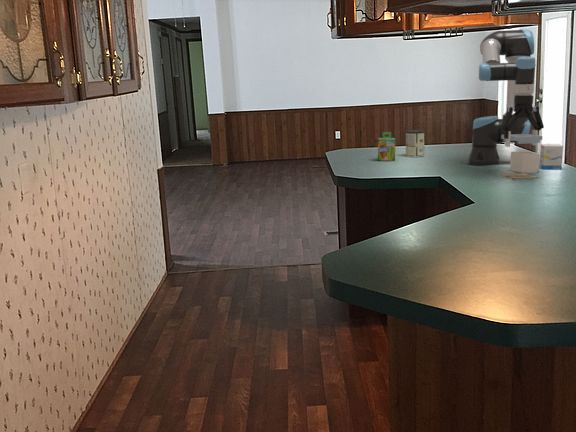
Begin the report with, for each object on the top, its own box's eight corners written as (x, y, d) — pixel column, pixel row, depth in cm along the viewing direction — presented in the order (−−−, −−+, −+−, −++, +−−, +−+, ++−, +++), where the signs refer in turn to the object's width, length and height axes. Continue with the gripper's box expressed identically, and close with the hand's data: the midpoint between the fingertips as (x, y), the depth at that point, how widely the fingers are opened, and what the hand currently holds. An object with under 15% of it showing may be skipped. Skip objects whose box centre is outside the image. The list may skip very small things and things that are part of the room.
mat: (501, 176, 277) (501, 174, 276) (523, 175, 279) (523, 173, 279) (513, 180, 267) (513, 178, 267) (536, 178, 269) (537, 176, 269)
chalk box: (377, 161, 331) (378, 133, 328) (377, 158, 340) (377, 131, 337) (395, 161, 330) (396, 133, 326) (394, 158, 339) (395, 131, 335)
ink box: (561, 171, 287) (563, 145, 285) (542, 170, 289) (544, 145, 286) (557, 168, 296) (559, 143, 293) (538, 168, 297) (540, 143, 295)
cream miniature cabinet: (409, 154, 354) (409, 129, 351) (426, 155, 349) (427, 129, 346) (402, 156, 346) (402, 131, 343) (420, 157, 340) (420, 131, 337)
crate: (509, 171, 290) (511, 151, 288) (525, 170, 292) (526, 150, 290) (522, 174, 281) (523, 154, 279) (538, 173, 282) (539, 153, 280)
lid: (501, 141, 274) (501, 134, 273) (525, 140, 276) (526, 133, 275) (516, 143, 262) (516, 137, 262) (542, 142, 265) (542, 136, 264)
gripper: (502, 95, 259) (499, 147, 263) (554, 94, 264) (551, 145, 268) (493, 95, 266) (490, 146, 271) (544, 93, 271) (540, 143, 275)
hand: (520, 145), depth 269 cm, fingers closed on lid, 12 cm apart
